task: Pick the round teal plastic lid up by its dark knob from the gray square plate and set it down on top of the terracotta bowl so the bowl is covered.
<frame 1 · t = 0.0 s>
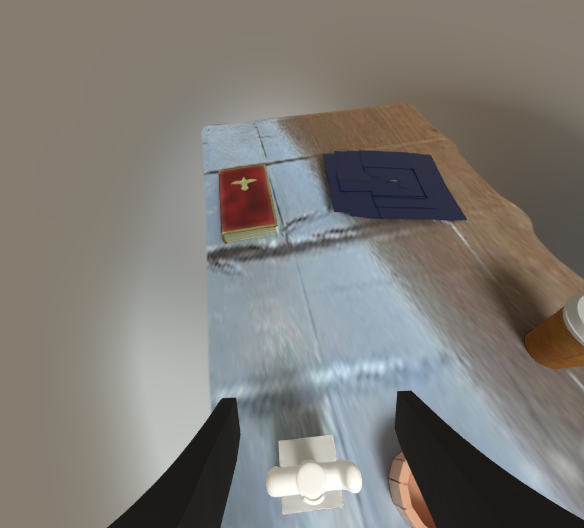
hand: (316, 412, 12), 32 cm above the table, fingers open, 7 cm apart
hardcover book: (247, 208, 65), on the table
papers: (386, 190, 67), on the table
figurine: (308, 469, 37), on the table
bowl: (425, 488, 35), on the table
disposable coffee cup: (544, 349, 44), on the table
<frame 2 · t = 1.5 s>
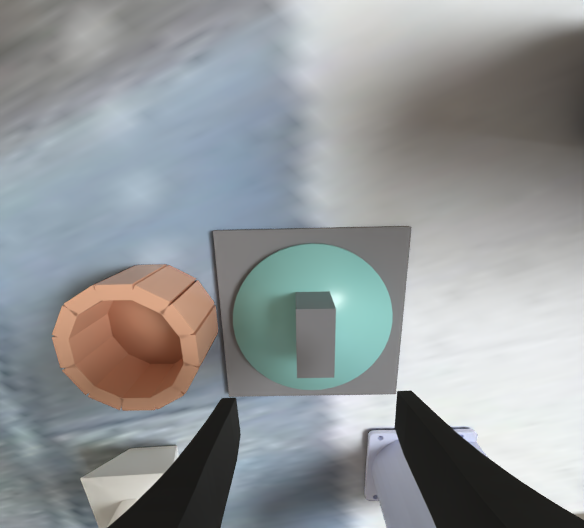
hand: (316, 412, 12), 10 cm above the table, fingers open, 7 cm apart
gray square plate: (311, 316, 21), on the table
figurine: (159, 462, 25), on the table
lid: (311, 319, 21), resting on gray square plate
bowl: (160, 319, 21), on the table
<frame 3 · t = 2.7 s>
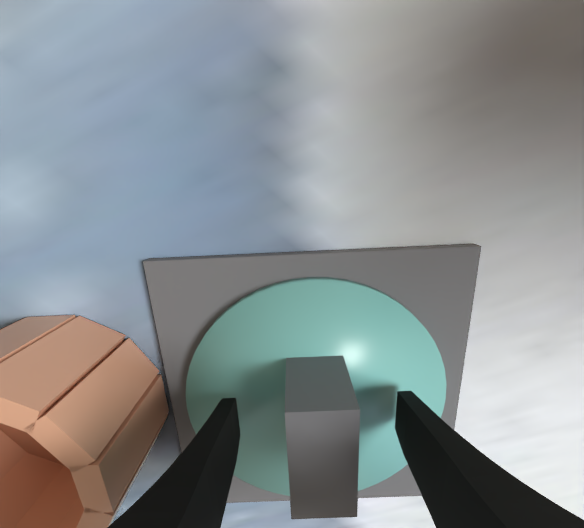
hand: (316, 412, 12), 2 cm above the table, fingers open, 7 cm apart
gray square plate: (313, 387, 13), on the table
lid: (314, 393, 13), resting on gray square plate
bowl: (76, 396, 14), on the table
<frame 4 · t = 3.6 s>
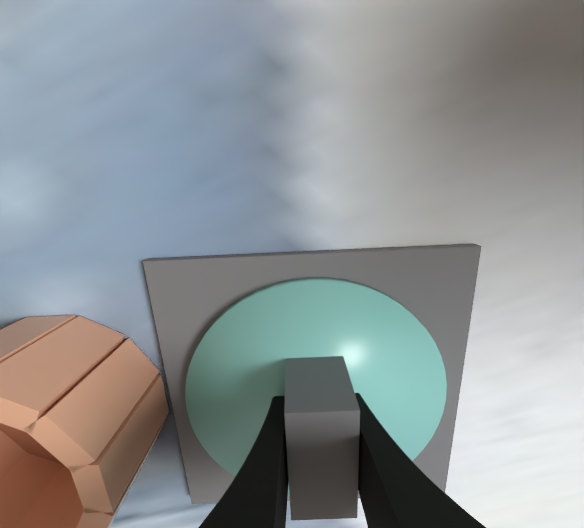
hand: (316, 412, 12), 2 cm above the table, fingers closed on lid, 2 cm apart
gray square plate: (313, 387, 13), on the table
lid: (314, 394, 13), resting on gray square plate, touching gripper
bowl: (76, 396, 14), on the table
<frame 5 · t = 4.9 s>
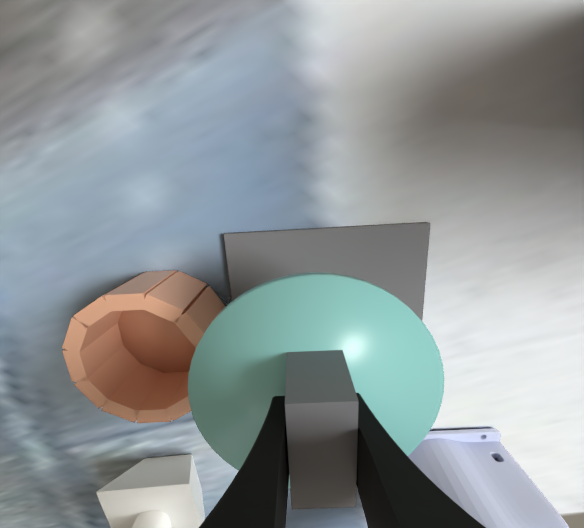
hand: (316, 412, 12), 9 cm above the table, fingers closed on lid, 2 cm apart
gray square plate: (327, 318, 21), on the table
figurine: (174, 472, 25), on the table
lid: (314, 388, 13), point 8 cm above the table, touching gripper
bowl: (171, 326, 21), on the table
when the fingers open (7 cm above the table, at t = 6.6 s): lid stays where it is, resting on bowl.
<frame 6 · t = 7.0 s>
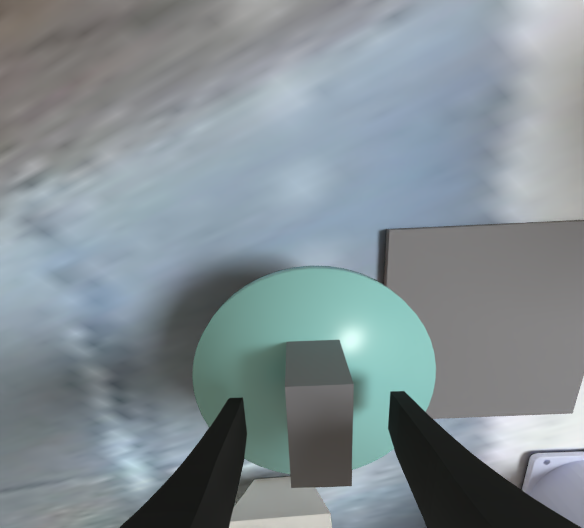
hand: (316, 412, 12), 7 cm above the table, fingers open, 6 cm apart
gray square plate: (485, 327, 18), on the table
figurine: (284, 493, 23), on the table
lid: (313, 377, 14), point 4 cm above the table, touching bowl
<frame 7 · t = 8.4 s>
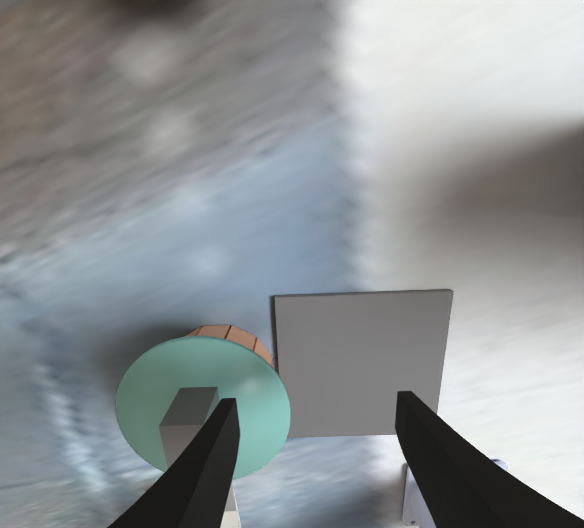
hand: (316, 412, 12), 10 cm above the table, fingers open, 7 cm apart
gray square plate: (359, 367, 23), on the table
figurine: (214, 495, 28), on the table
lid: (206, 410, 19), point 4 cm above the table, touching bowl
bowl: (222, 371, 23), on the table
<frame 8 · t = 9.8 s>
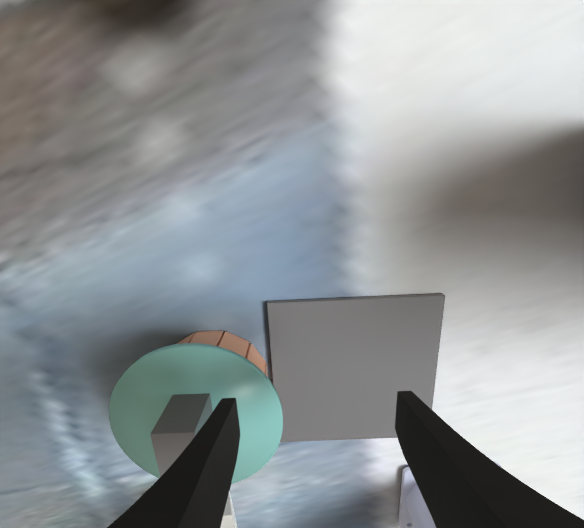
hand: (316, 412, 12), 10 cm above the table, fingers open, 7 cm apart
gray square plate: (353, 371, 24), on the table
figurine: (211, 498, 28), on the table
lid: (199, 416, 19), point 4 cm above the table, touching bowl
bowl: (216, 376, 24), on the table
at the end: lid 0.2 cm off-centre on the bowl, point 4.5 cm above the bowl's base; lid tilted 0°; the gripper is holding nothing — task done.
